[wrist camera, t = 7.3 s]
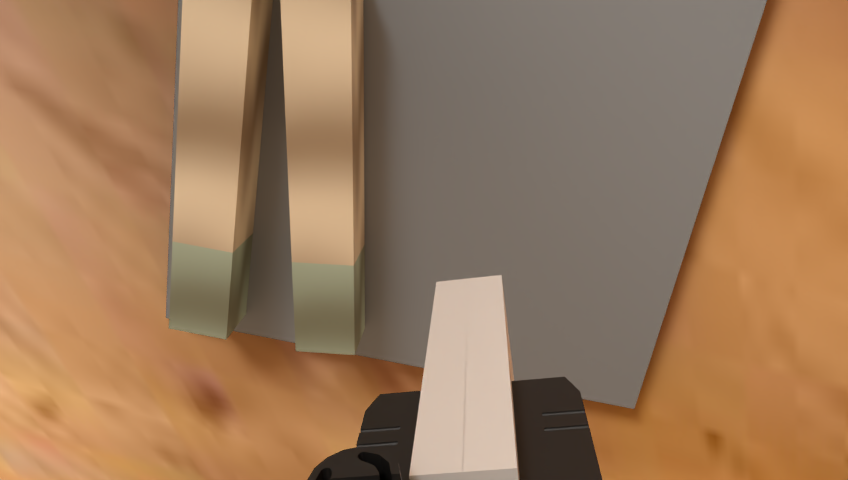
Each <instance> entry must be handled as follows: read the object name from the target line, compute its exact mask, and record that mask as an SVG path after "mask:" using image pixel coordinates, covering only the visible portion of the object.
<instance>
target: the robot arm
mask: <svg viewBox="0 0 848 480" xmlns="http://www.w3.org/2000/svg"><path fill="white" fill-rule="evenodd" d="M308 480H602V476H601V473H600V469H599V465H598V461H597V457H596V453H595V449H594V445H593V441H592V437H591V433H590V429H589V426H588V421H587V417H586V413H585V409H584V405H583V401H582V397H581V393H580V391H579V390H578V389H577V388H576V387H575V386H574V385H573V384H572V383H571V382H570V381H569V380H568V379H567V378H566V377H553V378H542V379H530V380H519V381H514V375H513V367H512V359H511V350H510V342H509V333H508V325H507V317H506V308H505V300H504V291H503V283H502V275H496V276H487V277H477V278H468V279H458V280H449V281H439V282H436V288H435V295H434V302H433V309H432V316H431V324H430V331H429V338H428V345H427V352H426V359H425V366H424V373H423V380H422V387H421V391H413V392H402V393H390V394H380V395H379V396H378V397H377V398H376V400H375V401H374V402H373V403H372V404H371V405H370V406H369V408H368V409H367V410H366V411H365V415H364V418H363V422H362V426H361V433H359V437H358V441H357V447H356V448H351V449H346V450H342V451H340V452H338V453H336V454H334V455H332V456H330V457H327V458H326V459H325V460H324V461H323V462H321V463H320V464H319V465H318V466H316V467H315V468H314V470H313V472H312V473H311V475H310V476H309V478H308Z"/></svg>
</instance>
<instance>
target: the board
mask: <svg viewBox="0 0 848 480" xmlns="http://www.w3.org/2000/svg"><path fill="white" fill-rule="evenodd" d="M766 2H767V0H363V23H364V238H365V329H364V332H363V334H362V337H361V340H360V342H359V345H358V347H357V350H356V353H355V355H359V356H365V357H370V358H375V359H380V360H385V361H390V362H395V363H401V364H406V365H411V366H416V367H421V368H424V366H425V359H426V352H427V345H428V338H429V331H430V324H431V316H432V309H433V302H434V295H435V288H436V282H439V281H449V280H458V279H468V278H477V277H487V276H496V275H502V283H503V291H504V300H505V308H506V317H507V325H508V333H509V342H510V350H511V359H512V367H513V375H514V381H519V380H530V379H542V378H553V377H566V378H567V379H568V380H569V381H570V382H571V383H572V384H573V385H574V386H575V387H576V388H577V389H578V390H579V391H580V393H581V397H582V399H585V400H591V401H596V402H601V403H606V404H611V405H616V406H621V407H626V408H632V409H634V408H635V405H636V402H637V399H638V396H639V393H640V390H641V387H642V384H643V380H644V377H645V374H646V371H647V368H648V365H649V362H650V359H651V356H652V353H653V350H654V347H655V344H656V340H657V337H658V334H659V331H660V328H661V325H662V322H663V319H664V316H665V313H666V310H667V307H668V303H669V300H670V297H671V294H672V291H673V288H674V285H675V282H676V279H677V276H678V273H679V270H680V267H681V263H682V260H683V257H684V254H685V251H686V248H687V245H688V242H689V239H690V236H691V233H692V230H693V227H694V223H695V220H696V217H697V214H698V211H699V208H700V205H701V202H702V199H703V196H704V193H705V190H706V187H707V183H708V180H709V177H710V174H711V171H712V168H713V165H714V162H715V159H716V156H717V153H718V150H719V146H720V143H721V140H722V137H723V134H724V131H725V128H726V125H727V122H728V119H729V116H730V113H731V110H732V106H733V103H734V100H735V97H736V94H737V91H738V88H739V85H740V82H741V79H742V76H743V73H744V70H745V66H746V63H747V60H748V57H749V54H750V51H751V48H752V45H753V42H754V39H755V36H756V33H757V30H758V26H759V23H760V20H761V17H762V14H763V11H764V8H765V5H766ZM181 22H182V0H178V22H177V48H176V73H175V99H174V124H173V150H172V175H171V201H170V226H169V251H168V277H167V302H166V318H169V313H170V289H171V265H172V240H173V216H174V192H175V168H176V143H177V119H178V95H179V71H180V46H181ZM233 331H236V332H241V333H246V334H252V335H257V336H262V337H267V338H272V339H277V340H282V341H288V342H293V343H295V325H294V302H293V279H292V256H291V233H290V210H289V187H288V164H287V141H286V118H285V95H284V72H283V49H282V26H281V3H280V0H273V3H272V15H271V27H270V39H269V51H268V62H267V74H266V86H265V98H264V109H263V121H262V133H261V145H260V156H259V168H258V180H257V192H256V203H255V215H254V227H253V239H252V250H251V262H250V274H249V286H248V297H247V309H246V315H245V316H244V317H243V319H242V320H241V321H240V322H239V324H238V325H237V326H236V328H235V329H234V330H233Z"/></svg>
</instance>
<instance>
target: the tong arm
mask: <svg viewBox="0 0 848 480" xmlns="http://www.w3.org/2000/svg"><path fill="white" fill-rule="evenodd" d="M280 3H281V26H282V49H283V72H284V95H285V118H286V141H287V164H288V187H289V210H290V233H291V256H292V279H293V302H294V325H295V348H296V351H301V352H316V353H331V354H346V355H355V353H356V350H357V347H358V345H359V342H360V340H361V337H362V334H363V332H364V329H365V238H364V23H363V0H280Z"/></svg>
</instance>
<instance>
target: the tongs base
mask: <svg viewBox="0 0 848 480" xmlns="http://www.w3.org/2000/svg"><path fill="white" fill-rule="evenodd" d="M272 3H273V0H182V22H181V46H180V71H179V95H178V119H177V143H176V168H175V192H174V216H173V240H172V265H171V289H170V313H169V329H175V330H180V331H185V332H190V333H195V334H200V335H205V336H210V337H216V338H221V339H227V338H228V337H229V335H230V334H231V333H232V331H233V330H234V329H235V328H236V326H237V325H238V324H239V322H240V321H241V320H242V319H243V317H244V316H245V315H246V309H247V297H248V286H249V274H250V262H251V250H252V239H253V227H254V215H255V203H256V192H257V180H258V168H259V156H260V145H261V133H262V121H263V109H264V98H265V86H266V74H267V62H268V51H269V39H270V27H271V15H272Z"/></svg>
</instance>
